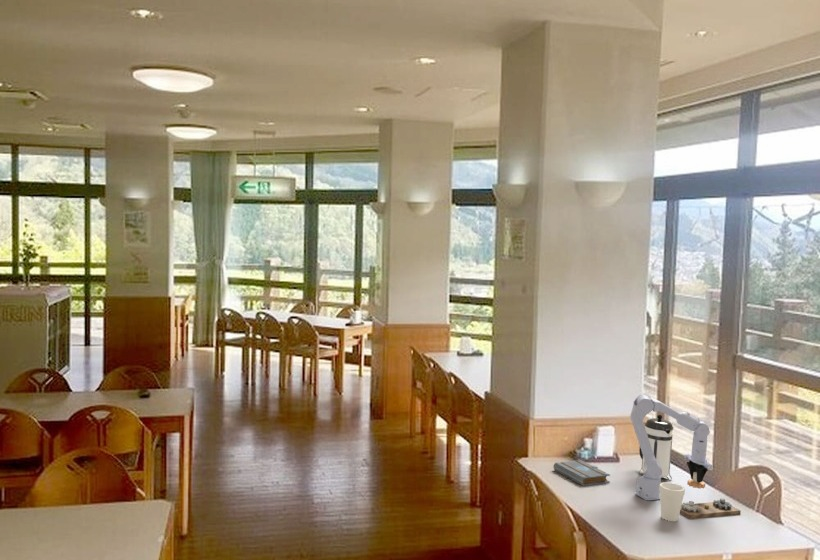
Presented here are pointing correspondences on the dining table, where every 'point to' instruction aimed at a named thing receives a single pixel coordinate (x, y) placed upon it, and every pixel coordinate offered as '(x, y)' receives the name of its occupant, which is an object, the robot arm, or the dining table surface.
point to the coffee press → (659, 443)
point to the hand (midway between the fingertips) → (696, 480)
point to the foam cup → (671, 500)
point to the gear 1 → (691, 507)
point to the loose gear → (695, 482)
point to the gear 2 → (722, 504)
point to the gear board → (709, 511)
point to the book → (581, 472)
